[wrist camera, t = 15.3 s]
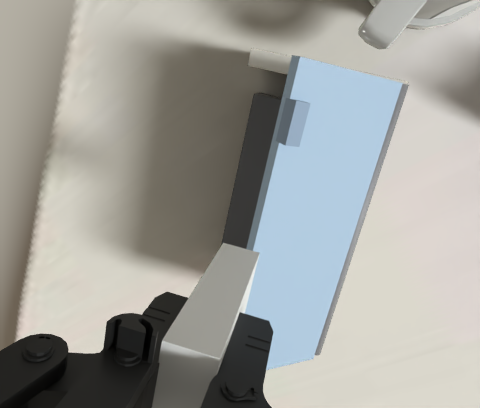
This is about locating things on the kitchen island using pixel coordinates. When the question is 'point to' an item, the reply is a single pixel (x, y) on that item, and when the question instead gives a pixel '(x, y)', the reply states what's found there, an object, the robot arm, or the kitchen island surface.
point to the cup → (410, 17)
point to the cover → (316, 198)
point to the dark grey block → (251, 169)
